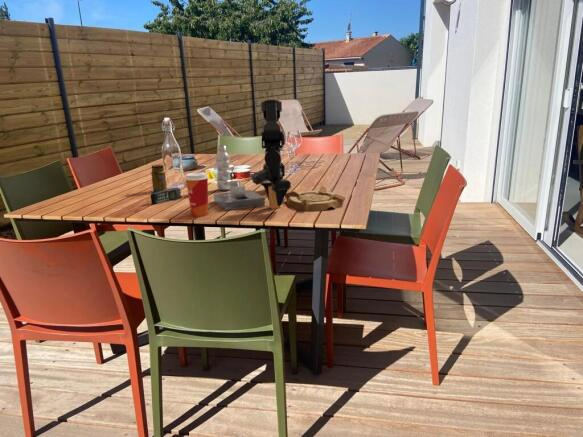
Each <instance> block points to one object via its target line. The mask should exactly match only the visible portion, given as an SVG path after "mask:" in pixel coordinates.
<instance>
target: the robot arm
mask: <svg viewBox="0 0 583 437" xmlns="http://www.w3.org/2000/svg"><path fill="white" fill-rule="evenodd" d="M260 106H261V107H260V108H261V113H263V118H264V120H265V122H266V123H265V124H264V125H263V128H262V129H263V130H262V131H261V149H265V150H264V162H265V163H264V164H263V166H262V169H261V170H258V171H256V172H254V173H252V174H250V177H251V180H252V183H253V184H255V185H256V186H258V185H261V186H262V187H264V191H265V193H266V194H265V195H266V197H267V200H268V201H269V189H268V187H270V186H272V188H273V189H272V190H273V191H274V192H275V193H276V199H277V205H278V206H280V207H281V206H282V203H283V202H284V199H285V198H286V197H285V195H286V193H288V191H289V190H290V189H291V188H292V182H291V181H289V180H288V179H286V178H284V177H285V176H286V174H285V173H286V171H285V170H286V168H285V167H286V166H285V165H284V162H282V155H281V149H283V148H284V146H285V133H284V132H283V131H282V130H281V125H280V124H279V123H278V121H279V120H280V117H281V112H283V108H282V106H283V103H282V101H280V100H278V99H265V100H264V101H261V102H260Z"/></svg>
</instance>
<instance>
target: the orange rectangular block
mask: <svg viewBox="0 0 583 437" xmlns="http://www.w3.org/2000/svg"><path fill="white" fill-rule="evenodd" d="M268 189H269V200H268V207H269V209H272V210H273V209H281V206H278V205H277V199H276V193H275V192H274V191H273V190H272V189H273V188H272V186H270V187H268Z"/></svg>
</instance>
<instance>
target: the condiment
mask: <svg viewBox="0 0 583 437" xmlns="http://www.w3.org/2000/svg"><path fill="white" fill-rule="evenodd" d="M164 167H165V166H164V165H163V164H154V165H151V171H150V175H151V183H152V189H151V194H152V193H154V192H158V191H162V190H166V189H168V186H167V178H166V171H165V168H164Z"/></svg>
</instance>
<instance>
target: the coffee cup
mask: <svg viewBox="0 0 583 437" xmlns="http://www.w3.org/2000/svg"><path fill="white" fill-rule="evenodd" d="M184 179H185V181H186V188H187V189H186V190H187V195H188V201H189V208H190V213H191V216H192V217H193V218H196V217H197V218H199V217H200V216H202V217H206V216H208V215H209V191H208V190H209V185H208V184H209V183H208V182H209V181H208V179H209V176H208V174H207V173H206V172H190V173H187V174H186V175H185V178H184ZM205 215H206V216H205Z"/></svg>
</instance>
